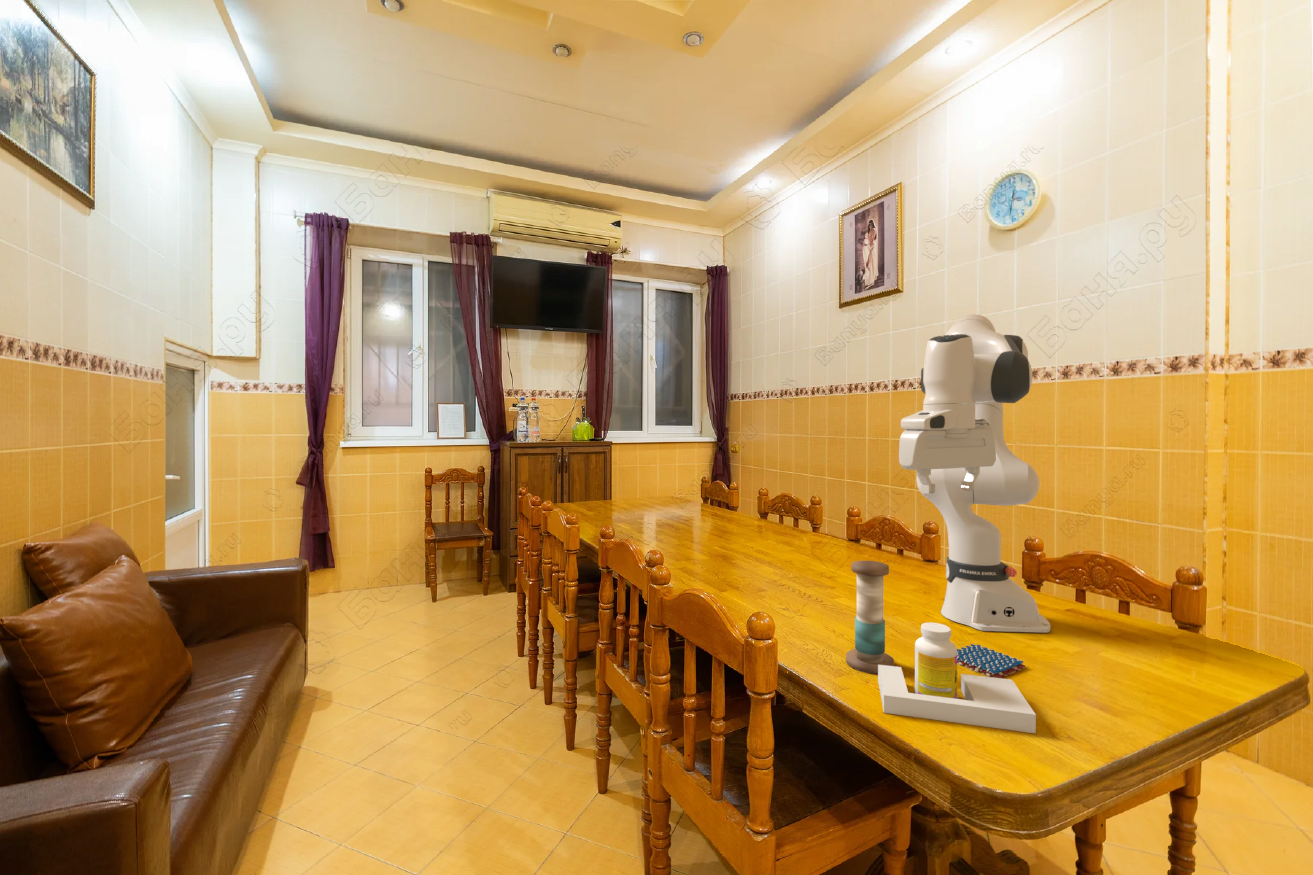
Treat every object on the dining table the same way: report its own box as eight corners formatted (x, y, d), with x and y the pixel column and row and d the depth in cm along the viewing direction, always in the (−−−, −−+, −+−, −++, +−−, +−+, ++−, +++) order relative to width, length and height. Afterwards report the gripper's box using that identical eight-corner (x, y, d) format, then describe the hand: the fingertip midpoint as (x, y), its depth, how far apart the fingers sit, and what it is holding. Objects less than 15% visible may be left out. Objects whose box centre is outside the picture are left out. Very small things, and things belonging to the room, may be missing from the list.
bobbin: (891, 656, 114) (891, 560, 114) (896, 676, 106) (896, 572, 105) (845, 651, 117) (845, 558, 116) (846, 670, 109) (846, 569, 108)
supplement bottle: (962, 710, 93) (963, 635, 93) (920, 707, 95) (920, 633, 94) (949, 691, 100) (950, 621, 99) (910, 688, 101) (910, 619, 101)
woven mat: (997, 683, 104) (997, 673, 104) (944, 661, 113) (944, 652, 113) (1028, 671, 109) (1028, 660, 109) (975, 651, 118) (975, 641, 118)
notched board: (1011, 696, 98) (1011, 679, 98) (1035, 733, 87) (1035, 714, 86) (878, 680, 105) (878, 664, 104) (883, 712, 93) (883, 695, 93)
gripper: (977, 418, 112) (976, 487, 112) (893, 420, 106) (893, 492, 106) (1005, 418, 106) (1004, 491, 106) (918, 420, 100) (918, 496, 100)
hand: (948, 491), depth 106 cm, fingers open, 8 cm apart
